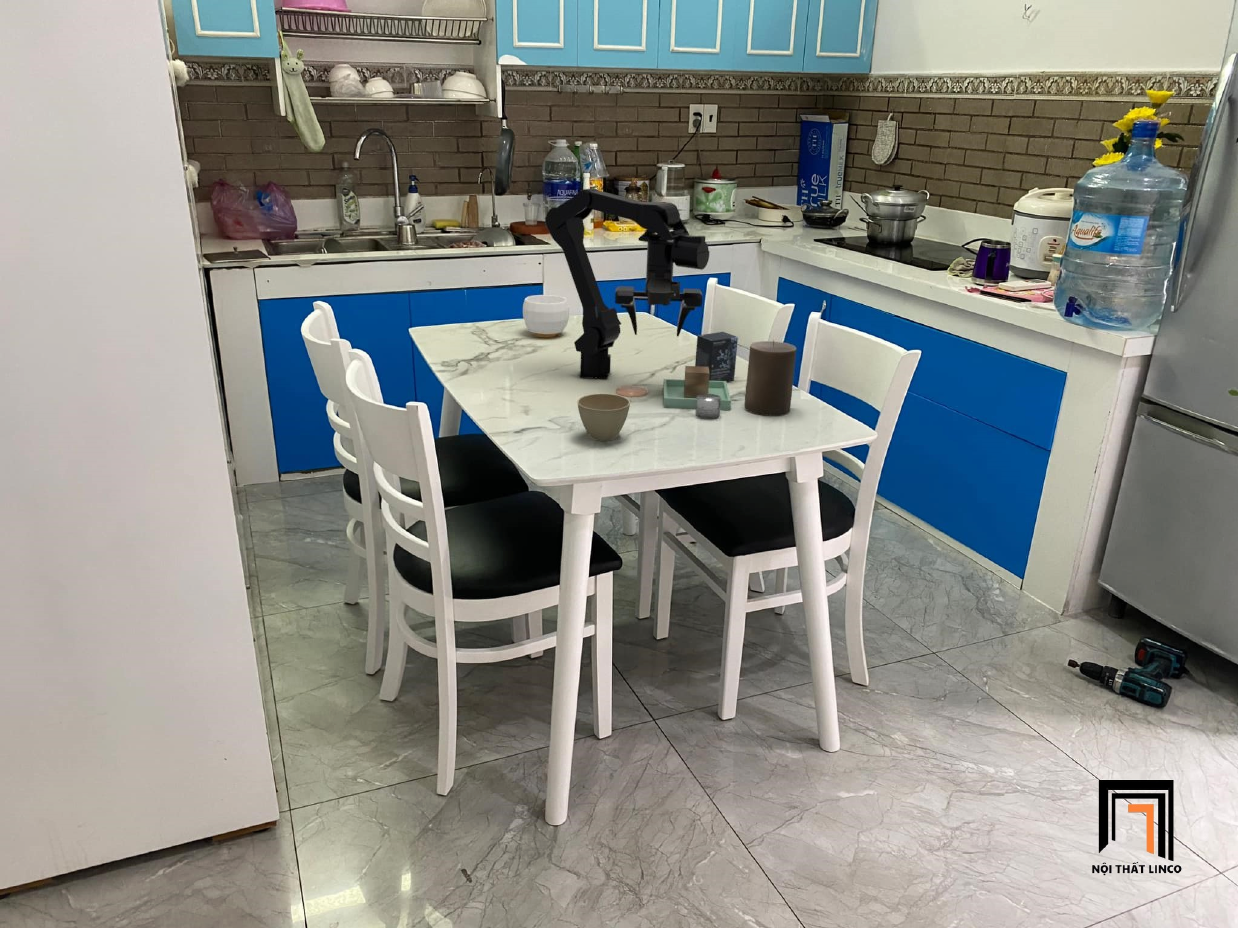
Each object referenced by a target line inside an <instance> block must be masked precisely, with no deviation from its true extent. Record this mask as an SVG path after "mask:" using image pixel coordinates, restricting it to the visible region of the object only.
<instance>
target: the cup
mask: <svg viewBox="0 0 1238 928" xmlns="http://www.w3.org/2000/svg"><path fill="white" fill-rule="evenodd" d="M523 301H524V302H523V305H522V317H523V321H524V324H525V326H526V328H527V330H528V331H529V332H531V333H534V334H535V337H539V338H554V337H556V336H557V334H560V333H562V332H564V330H565V329H566V327H567V325H568V322H569V319H570V307H569V302H568V299H567V298H566V297H563V296H560V295H553V294H551V295H550V294H537V295H529V296H527V297H525V298H524V300H523Z"/></svg>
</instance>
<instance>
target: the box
mask: <svg viewBox="0 0 1238 928" xmlns="http://www.w3.org/2000/svg"><path fill="white" fill-rule="evenodd" d="M696 336H697V337H696V338H697V339H696V348H695V349H696V350H695V361H694V363H695V364H694V366H702V367H709V373H710V375H709V381H726V382H730V381H734V380H735V374H736V364H737V361H736V360H737V353H738V352H737V351H738V340H739V338H738V336H736V335H733V334H731V333H728V332H725V331H719V332H712V333H705V334H697V335H696Z"/></svg>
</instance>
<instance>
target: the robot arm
mask: <svg viewBox="0 0 1238 928" xmlns="http://www.w3.org/2000/svg"><path fill="white" fill-rule="evenodd" d="M593 211H598V212H601V213H604V214H609V215H612V216H615V217H619V218H622V219H627V220H631V221H632V222H634V223H636V224H637V225H638V226H639V227H640V228H642V229H645V231H644V233H643V234H642V235H641V236H639V237H638V241H640V242H645V243H646V242H647V246H646V247H647V250H646V251H647V252H646V269H645V270H646V273H645V274H646V275H645V291H643V290H642V291H641V290H635V287H634V286H620V285H619V286H617V287H616V288H615V292H614V293H615V295H614V304H616V305H620V307H621V308H622V309H625V310H626V311H627V314H628V315H629V319H630V322H631V325H632V329H633V333H634V335H635V336H637V335H638V334H637V333H638V323H637V312H636V311H637V310H636V301H647V304H648V305H650V306H656V305H659V306H660V305H661V306H665V307H666V306H670V305H671V302H680V309H679V314H678V320H677V326H676V337H679V336H680V334H681V331H682V328H683V326H684V324H685V321H686V319H687V317H688V315H689V314H690V312H691V311H696V308H700V307H703V293H702V291H701V290H700V288H683V292H681V281H674V279H673V278H674V276H673V275H674V265H675V266H676V267H679V268H687V269H694V270H704V269H705V268H706V267H707V265H708V263H709V259H710V250H709V249H710V248H709V245H708V243H707V242H706V235H690V233H689V231H688V230H687V227H686V226H685V223H684V222H683V220H682V218H681V216H680V211H679V208H678V206H677V205H676V204H674V203H672V202H667V201H666V202H664V201H640V200H637V199H636V200H635V199H632V198H628V197H624V196H621V195H616V194H614V193H610V192H605V191H602V190H598V188H595V187H592V188H591V187H590V188H584V189H581V190H579V192H577V194H575V195H574V196H573V197H571V198H569V199H567V200H565V201H564V202H563V203H561V204H560V205H558V206H557V207H551V208H550V209H549V210H548V211H547V213H546V215H545V217H544V223H545V226H546V229H547V230H548V232H549V234H550V236H551V239H552V241H554V242H555V243H556V244H557V245H558V246H559V247H560V248H561V249H562V252H563V255H564V258H565V261H566V263H567V267H568V269H569V272H570V274H571V279H572V280H573V284H574V286H575V289H576V292H577V294H578V297H579V302H580V303H581V306H582V310H583V311H582V320H581V325H582V330H583V333H582V335H580V336H579V337H578V338H577V339H576V340H575V341H574V342H573V343H574V348H575V351H576V352H578V353H579V352H580V368H579V369H580V370H579V372H580V373H579V378H580V379H581V378H582V379H600V380H601V379H605V380H606V379H608V378H609V375H610V374H611V363H612V362H611V361H612V360H611V358H612V357H611V356H612V355H611V354H609V348H613V347H614V344H615V341H617V339H618V338H619V336H620V334H621V326H620V325H622V322H621V321H620V319H619V317H618V311H617V309H616V307H612V308H609V307H608V306H607V305H606V304H605V302H604V300H603V297H602V294H601V291H600V288H599V285H598V282H597V279H596V276H595V273H594V270H593V267H592V265H591V262H590V259H589V255H588V253H587V251H586V247H585V244H584V235H585V225H584V220H585V219H586V218H588V217H589V216H590V215H591V214H592V212H593Z"/></svg>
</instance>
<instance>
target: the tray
mask: <svg viewBox="0 0 1238 928" xmlns="http://www.w3.org/2000/svg"><path fill="white" fill-rule="evenodd" d="M684 381H685V379H675V378H674V379H673V378H671V379H670V378H663V384H662V386H663V387H662V390H663V393H662V395H663V408H665V409H688V410H689V409H691V410H692V409H693V410H696V401H697V399H696V398H684ZM708 394H714V395H718V396H720V397H721V407H720V411H731V407H732V399H731V396H730V391H729V388H728V383H727V381H709V389H708Z"/></svg>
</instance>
